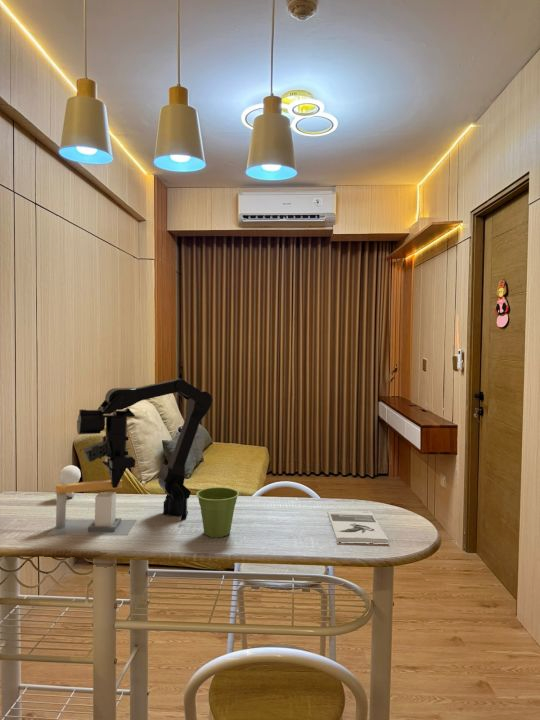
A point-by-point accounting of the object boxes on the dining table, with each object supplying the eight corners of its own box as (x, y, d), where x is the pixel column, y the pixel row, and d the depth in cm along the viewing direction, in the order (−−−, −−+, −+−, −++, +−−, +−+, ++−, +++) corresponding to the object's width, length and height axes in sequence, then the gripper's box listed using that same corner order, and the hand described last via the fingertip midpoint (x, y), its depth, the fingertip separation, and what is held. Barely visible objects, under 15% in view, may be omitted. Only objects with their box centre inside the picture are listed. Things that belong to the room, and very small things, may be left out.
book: (327, 516, 149) (327, 510, 149) (370, 517, 149) (370, 511, 149) (336, 545, 126) (336, 537, 126) (388, 546, 126) (388, 539, 126)
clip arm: (55, 494, 127) (55, 487, 127) (55, 491, 130) (55, 484, 130) (122, 487, 135) (122, 481, 135) (120, 485, 138) (120, 478, 138)
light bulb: (75, 501, 156) (75, 468, 155) (55, 500, 156) (56, 467, 156) (83, 495, 162) (84, 463, 162) (64, 494, 162) (65, 463, 162)
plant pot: (191, 528, 134) (192, 488, 134) (231, 524, 138) (232, 485, 138) (200, 544, 123) (201, 501, 123) (243, 538, 127) (244, 497, 127)
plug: (115, 524, 133) (116, 492, 133) (110, 529, 128) (111, 497, 128) (99, 524, 132) (100, 492, 132) (94, 529, 128) (95, 496, 128)
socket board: (137, 523, 137) (137, 487, 137) (127, 538, 125) (128, 500, 125) (63, 522, 135) (63, 487, 135) (46, 538, 123) (47, 499, 123)
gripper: (79, 429, 138) (78, 483, 137) (93, 439, 122) (92, 499, 122) (118, 428, 144) (117, 479, 143) (136, 436, 128) (134, 494, 128)
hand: (114, 487), depth 134 cm, fingers closed
